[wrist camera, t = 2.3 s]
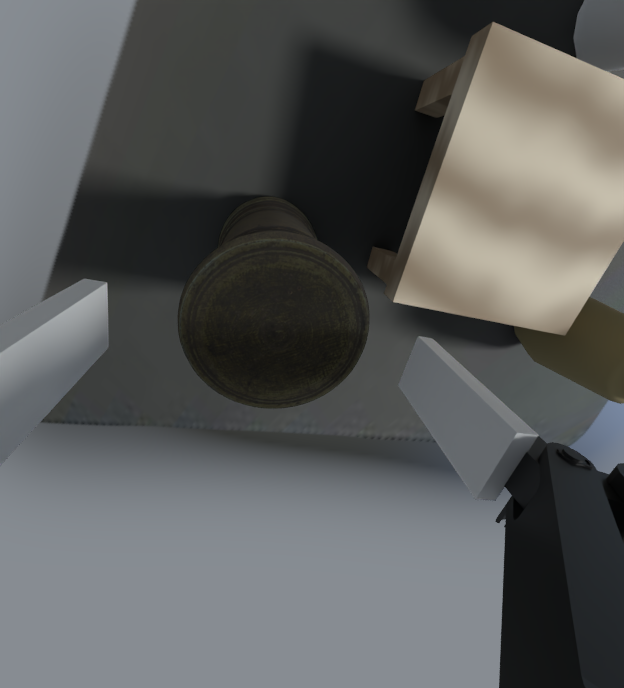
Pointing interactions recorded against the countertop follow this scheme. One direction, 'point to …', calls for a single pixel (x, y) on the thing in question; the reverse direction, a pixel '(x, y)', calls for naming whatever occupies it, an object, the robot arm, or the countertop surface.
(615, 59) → the foam cup
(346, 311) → the container
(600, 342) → the squeeze bottle
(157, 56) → the countertop surface
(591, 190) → the beige flat-topped legged fixture
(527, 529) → the robot arm
